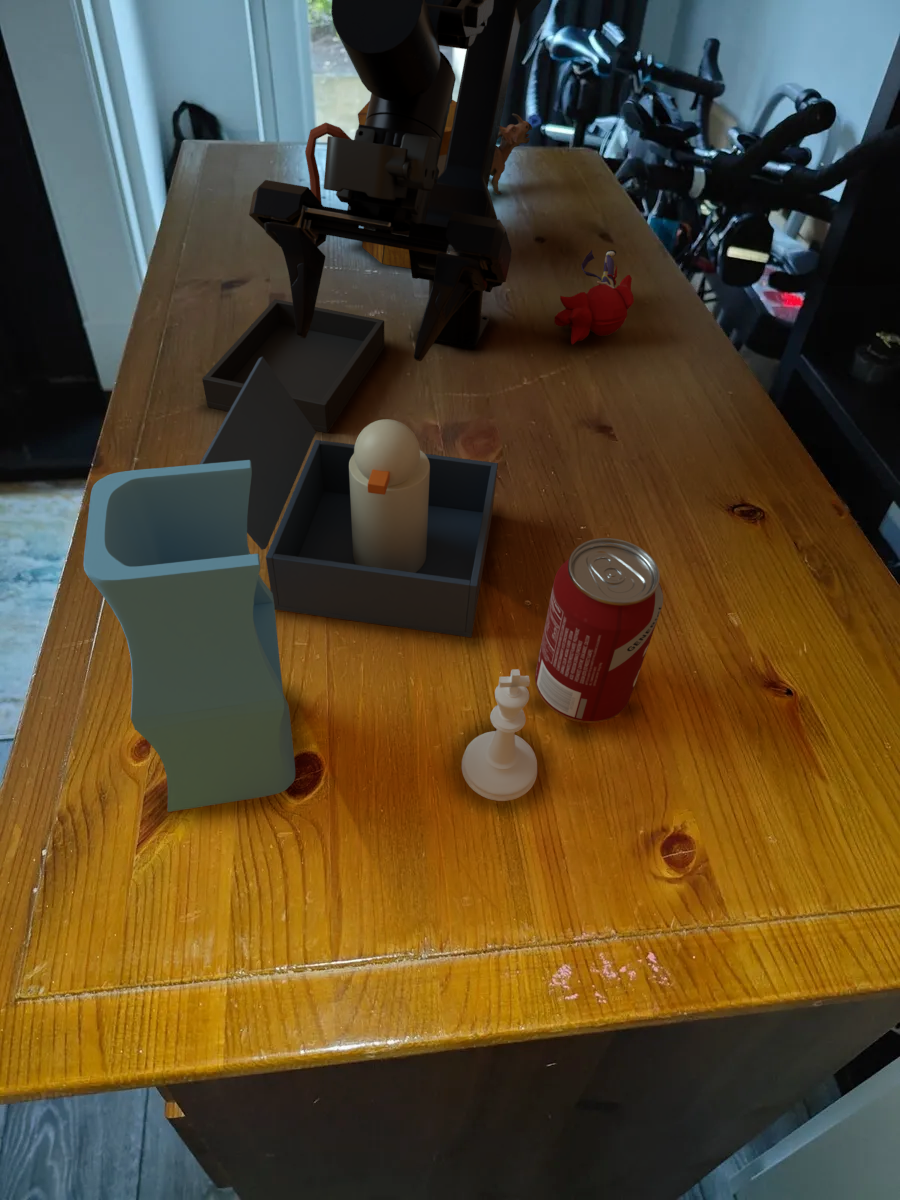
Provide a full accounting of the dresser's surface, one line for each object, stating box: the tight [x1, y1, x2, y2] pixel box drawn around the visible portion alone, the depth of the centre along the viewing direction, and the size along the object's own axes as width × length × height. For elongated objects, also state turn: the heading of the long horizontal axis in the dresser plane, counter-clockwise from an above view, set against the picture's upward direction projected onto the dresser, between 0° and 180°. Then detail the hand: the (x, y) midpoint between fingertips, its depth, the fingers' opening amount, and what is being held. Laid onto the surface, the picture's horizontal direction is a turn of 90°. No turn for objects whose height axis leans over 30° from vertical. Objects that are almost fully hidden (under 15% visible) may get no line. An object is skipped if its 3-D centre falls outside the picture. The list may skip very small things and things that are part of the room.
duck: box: [349, 418, 430, 573], centre depth 62 cm, size 8×6×13 cm
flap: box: [199, 357, 317, 551], centre depth 61 cm, size 14×7×1 cm
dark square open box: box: [265, 439, 499, 638], centre depth 65 cm, size 14×15×6 cm
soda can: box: [534, 537, 664, 724], centre depth 55 cm, size 7×7×12 cm
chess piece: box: [461, 668, 538, 802], centre depth 51 cm, size 5×5×10 cm
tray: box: [202, 298, 386, 434], centre depth 84 cm, size 16×12×3 cm
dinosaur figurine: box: [490, 113, 533, 196], centre depth 115 cm, size 14×6×9 cm, turn 139°
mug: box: [304, 99, 457, 269], centre depth 100 cm, size 20×14×15 cm
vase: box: [83, 460, 296, 813], centre depth 47 cm, size 8×8×20 cm
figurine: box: [553, 249, 635, 345], centre depth 93 cm, size 6×8×15 cm
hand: (358, 348), depth 63 cm, fingers open, 9 cm apart
